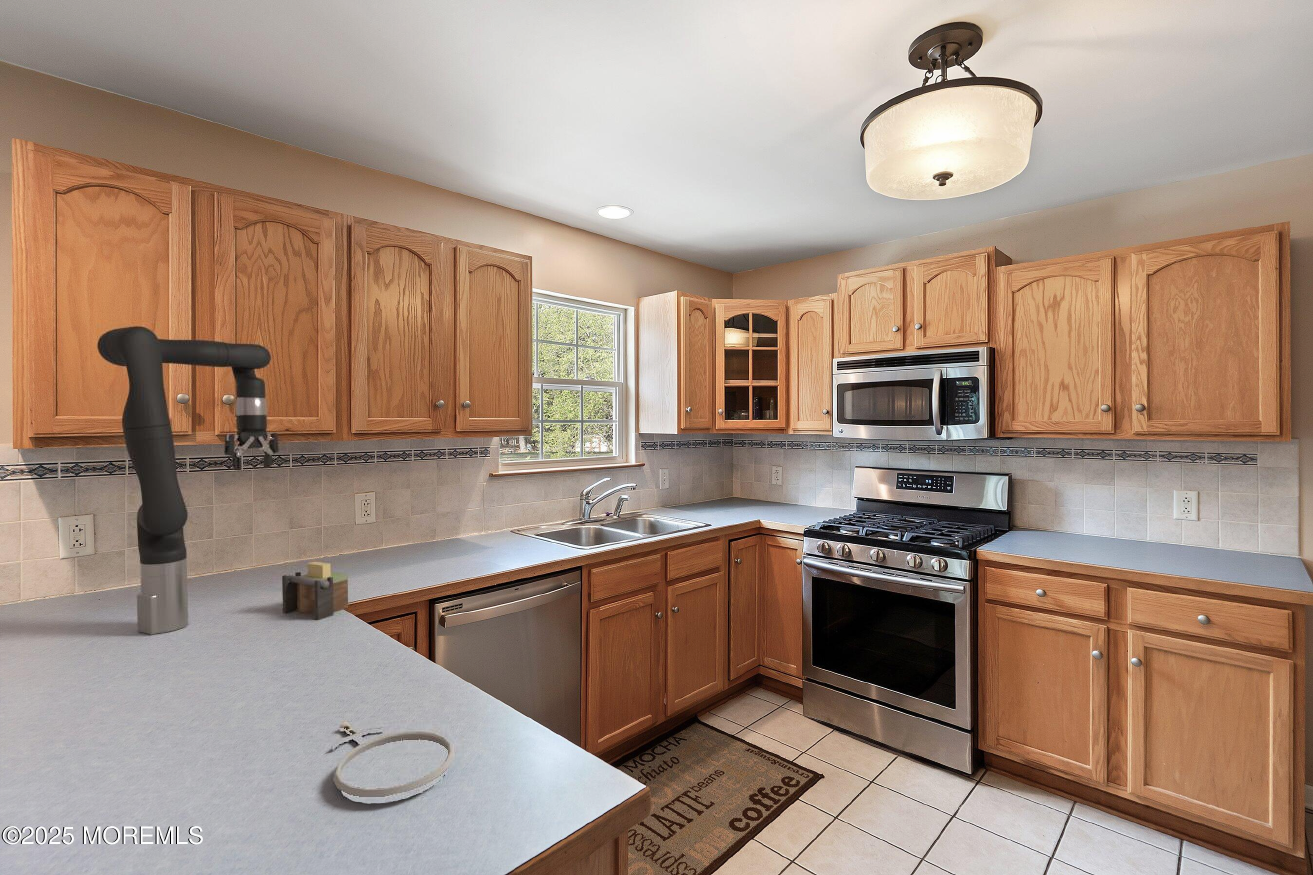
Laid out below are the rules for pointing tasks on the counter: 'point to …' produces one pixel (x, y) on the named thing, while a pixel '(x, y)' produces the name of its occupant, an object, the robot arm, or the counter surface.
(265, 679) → the counter surface
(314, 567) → the lid
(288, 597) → the chest
